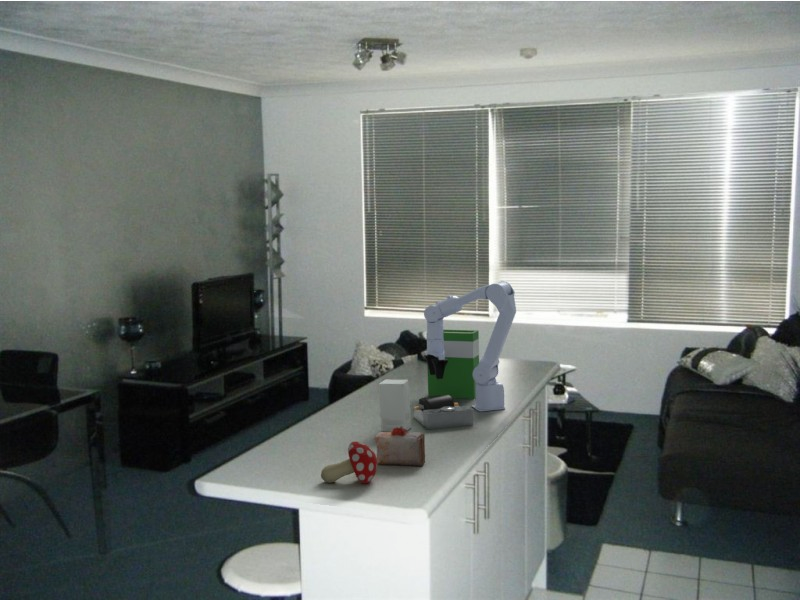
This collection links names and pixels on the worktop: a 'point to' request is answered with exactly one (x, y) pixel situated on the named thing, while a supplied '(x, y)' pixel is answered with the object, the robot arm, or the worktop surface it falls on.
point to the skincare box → (394, 404)
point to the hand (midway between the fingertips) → (436, 376)
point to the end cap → (436, 402)
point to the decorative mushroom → (353, 465)
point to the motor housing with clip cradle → (444, 416)
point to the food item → (400, 447)
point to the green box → (457, 365)
